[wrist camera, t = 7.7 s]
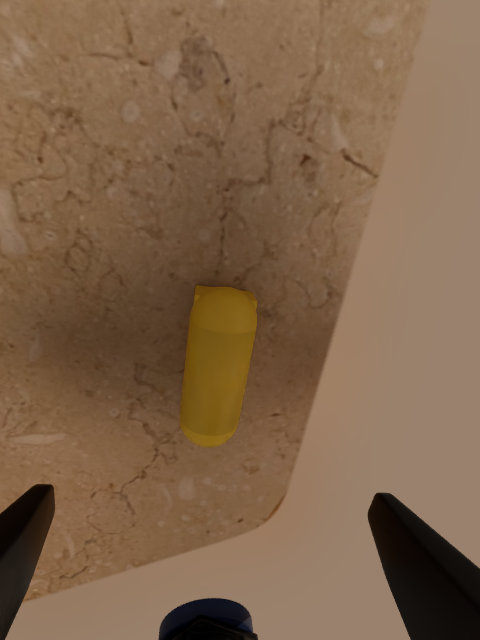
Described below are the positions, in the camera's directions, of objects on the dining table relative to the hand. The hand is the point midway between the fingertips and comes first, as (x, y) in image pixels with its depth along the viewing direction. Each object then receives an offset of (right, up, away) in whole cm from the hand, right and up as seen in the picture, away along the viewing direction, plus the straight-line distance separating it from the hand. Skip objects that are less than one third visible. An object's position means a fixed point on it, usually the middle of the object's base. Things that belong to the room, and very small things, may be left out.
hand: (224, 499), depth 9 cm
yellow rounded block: (-1, +3, +8) cm, 9 cm away
